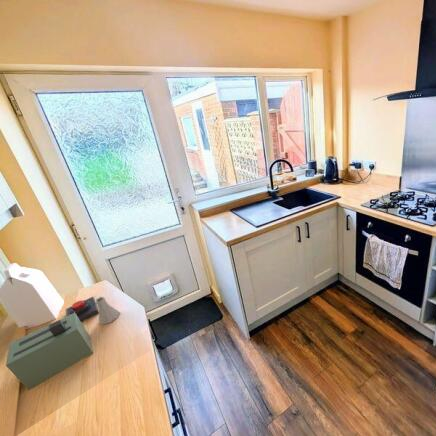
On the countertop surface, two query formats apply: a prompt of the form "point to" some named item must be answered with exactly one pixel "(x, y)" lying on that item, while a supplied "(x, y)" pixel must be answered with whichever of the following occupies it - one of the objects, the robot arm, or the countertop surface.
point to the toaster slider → (57, 328)
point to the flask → (106, 311)
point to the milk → (29, 296)
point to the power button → (78, 305)
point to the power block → (85, 310)
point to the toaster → (48, 352)
